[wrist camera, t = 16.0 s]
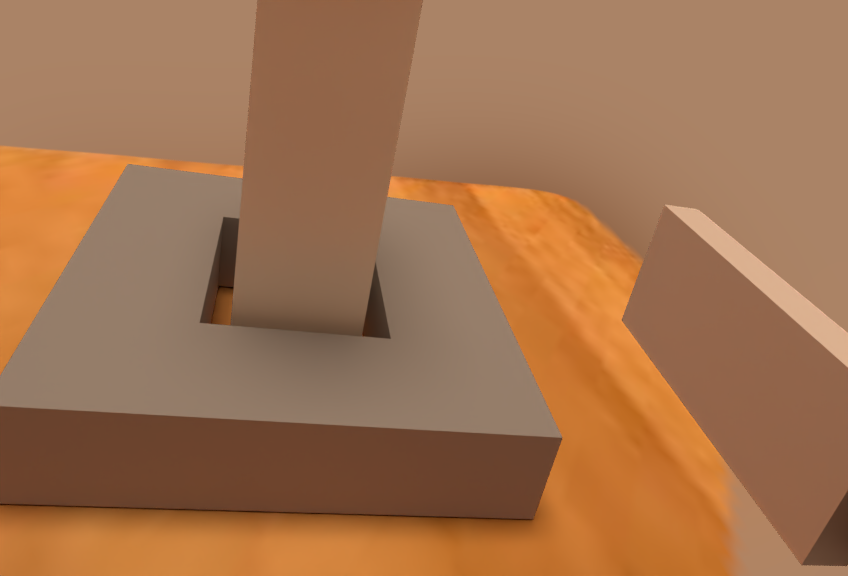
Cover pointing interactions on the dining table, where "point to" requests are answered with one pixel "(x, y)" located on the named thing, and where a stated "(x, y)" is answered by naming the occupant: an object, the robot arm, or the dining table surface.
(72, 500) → the frame
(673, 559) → the dining table surface
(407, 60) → the cream block
